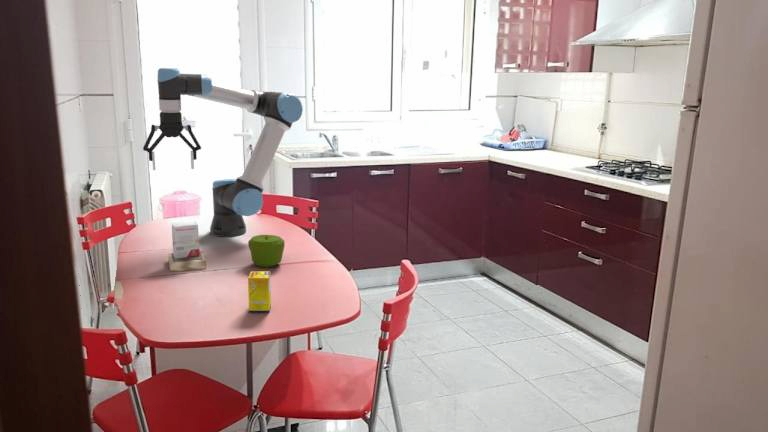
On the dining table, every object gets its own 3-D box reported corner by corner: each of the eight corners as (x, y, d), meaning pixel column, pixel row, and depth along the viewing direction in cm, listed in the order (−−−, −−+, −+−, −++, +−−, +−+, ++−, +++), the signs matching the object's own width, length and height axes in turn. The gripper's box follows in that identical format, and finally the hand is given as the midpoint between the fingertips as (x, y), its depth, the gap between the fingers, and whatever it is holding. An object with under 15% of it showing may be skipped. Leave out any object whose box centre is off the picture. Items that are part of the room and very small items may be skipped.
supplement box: (251, 305, 180) (250, 271, 178) (271, 305, 181) (270, 270, 178) (248, 313, 174) (247, 277, 172) (269, 313, 175) (268, 277, 172)
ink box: (197, 252, 219) (196, 221, 216) (200, 256, 215) (198, 224, 212) (172, 255, 215) (170, 223, 213) (174, 259, 211) (172, 226, 208)
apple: (290, 262, 221) (290, 233, 218) (270, 272, 210) (270, 241, 208) (262, 257, 226) (262, 228, 224) (242, 266, 215) (241, 236, 213)
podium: (202, 258, 223) (202, 250, 222) (206, 268, 212) (205, 259, 212) (168, 261, 219) (168, 252, 218) (170, 271, 208) (169, 262, 207)
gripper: (204, 110, 227) (207, 166, 232) (133, 110, 218) (137, 168, 223) (206, 112, 221) (209, 169, 226) (133, 112, 212) (137, 171, 216)
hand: (173, 169), depth 224 cm, fingers open, 13 cm apart
